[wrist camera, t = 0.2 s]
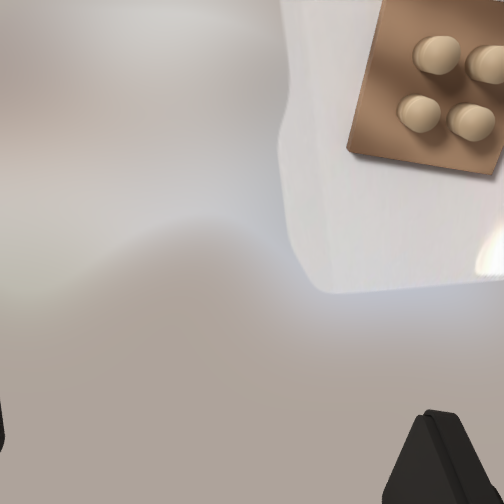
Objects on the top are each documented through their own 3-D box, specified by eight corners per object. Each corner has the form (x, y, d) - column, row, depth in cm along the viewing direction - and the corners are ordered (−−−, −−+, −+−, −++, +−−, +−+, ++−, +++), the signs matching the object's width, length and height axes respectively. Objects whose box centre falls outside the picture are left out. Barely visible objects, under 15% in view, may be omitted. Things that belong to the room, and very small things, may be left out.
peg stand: (386, -15, 32) (402, -23, 28) (546, 12, 32) (584, 9, 28) (346, 147, 37) (355, 161, 33) (483, 170, 38) (508, 186, 34)
